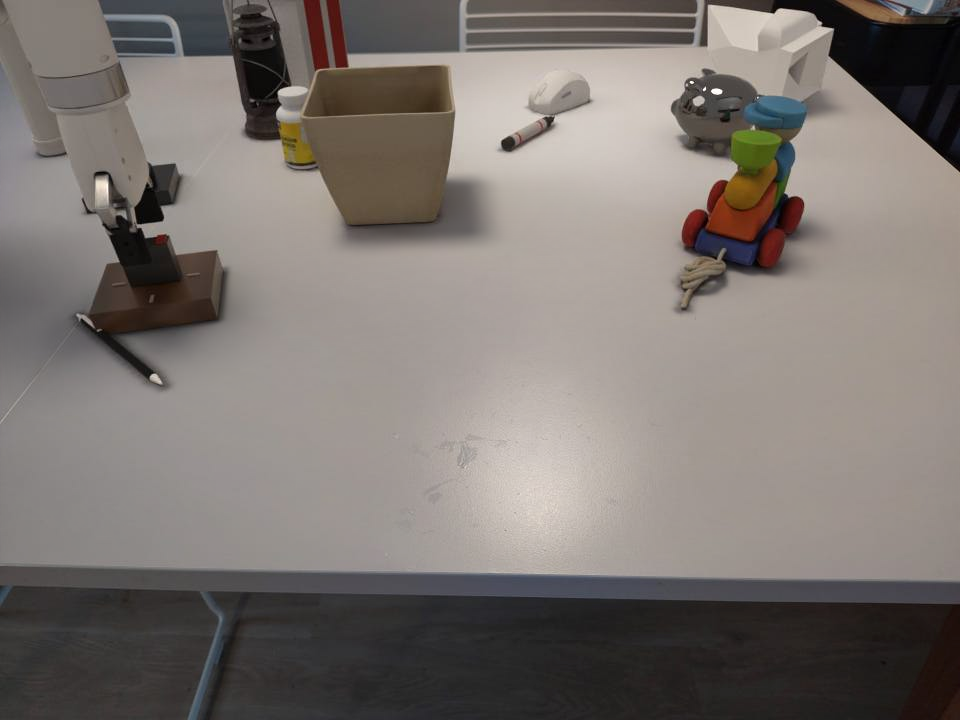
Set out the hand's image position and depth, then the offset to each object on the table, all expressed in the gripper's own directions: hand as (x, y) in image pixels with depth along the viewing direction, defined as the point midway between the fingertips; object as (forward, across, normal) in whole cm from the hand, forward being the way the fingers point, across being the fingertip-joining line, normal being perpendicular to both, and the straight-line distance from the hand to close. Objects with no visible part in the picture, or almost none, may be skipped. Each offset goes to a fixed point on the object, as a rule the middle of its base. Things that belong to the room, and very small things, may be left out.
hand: (144, 242), depth 77 cm
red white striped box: (+8, -75, +18) cm, 78 cm away
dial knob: (+5, 0, 0) cm, 5 cm away
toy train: (+9, +6, +71) cm, 71 cm away
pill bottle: (+8, -37, +18) cm, 42 cm away
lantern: (+8, -54, +13) cm, 56 cm away
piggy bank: (+9, -26, +85) cm, 89 cm away
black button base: (+8, -32, -8) cm, 34 cm away
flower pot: (+8, -18, +30) cm, 36 cm away
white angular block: (+9, -46, +104) cm, 114 cm away
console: (+8, 0, 0) cm, 8 cm away
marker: (+9, -38, +57) cm, 69 cm away
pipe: (+8, -54, -24) cm, 60 cm away
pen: (+8, +8, -4) cm, 13 cm away
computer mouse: (+9, -52, +67) cm, 85 cm away
